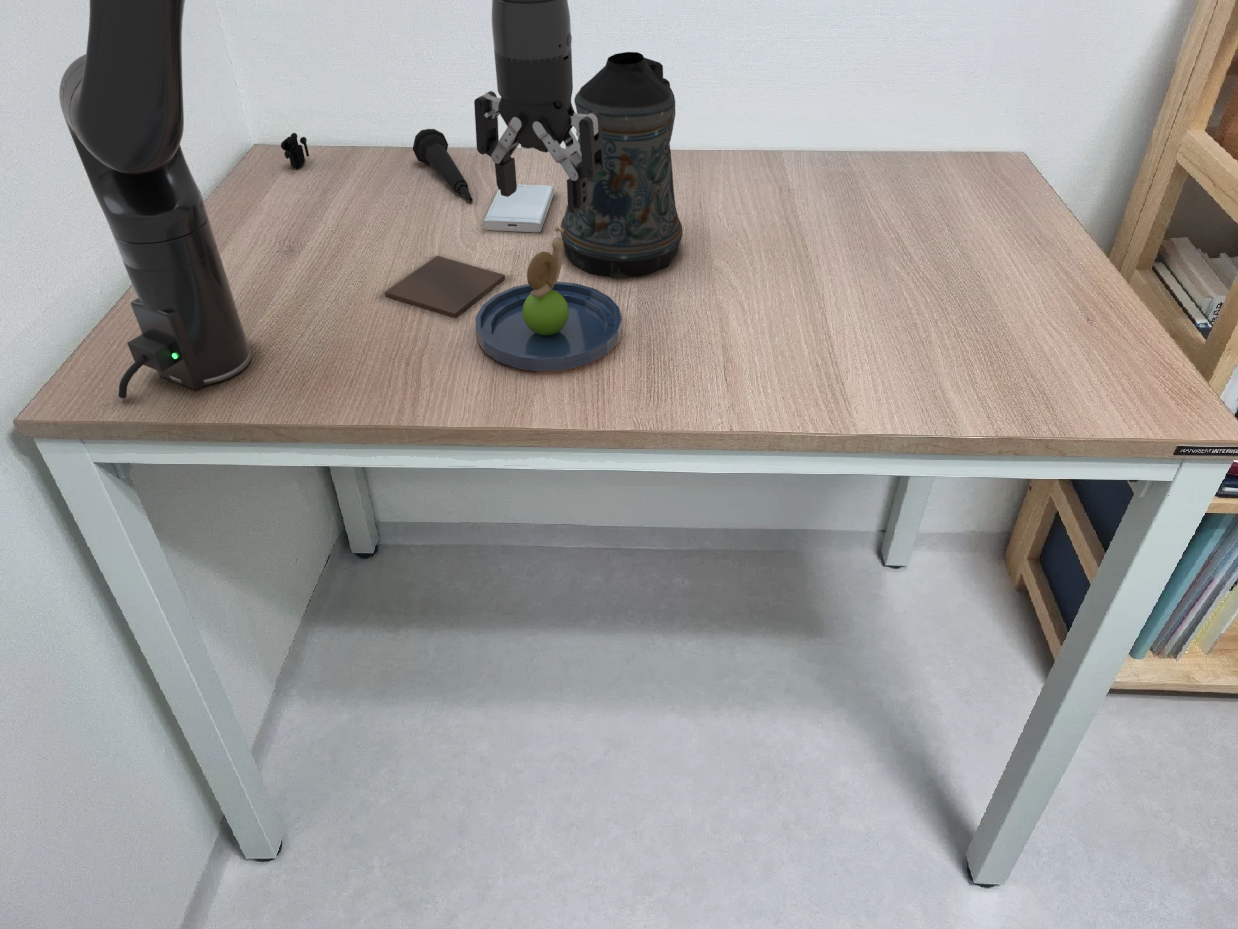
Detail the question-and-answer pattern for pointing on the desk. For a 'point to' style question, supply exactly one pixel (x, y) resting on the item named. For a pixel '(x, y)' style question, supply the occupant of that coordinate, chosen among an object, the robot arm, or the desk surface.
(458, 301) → the coaster
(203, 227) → the robot arm
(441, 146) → the microphone
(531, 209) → the hard drive
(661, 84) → the beer stein
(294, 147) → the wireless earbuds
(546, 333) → the snail figurine
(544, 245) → the desk surface
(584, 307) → the plate
